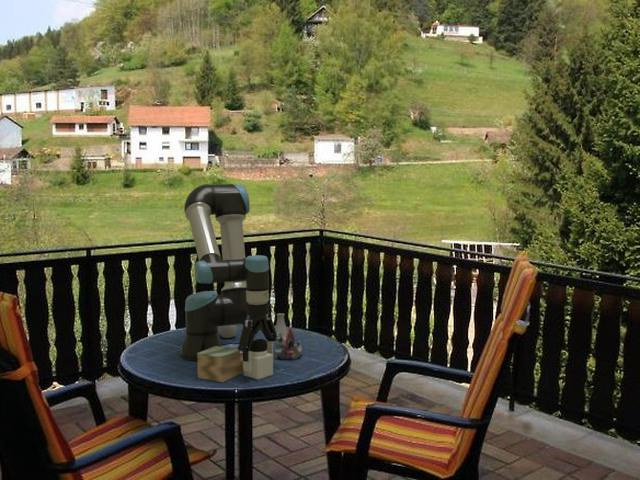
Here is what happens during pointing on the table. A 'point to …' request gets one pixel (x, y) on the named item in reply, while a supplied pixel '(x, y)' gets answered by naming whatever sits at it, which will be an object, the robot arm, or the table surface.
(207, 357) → the stepped stand
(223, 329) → the perfume bottle
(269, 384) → the table surface
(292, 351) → the red grey figurine
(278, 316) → the flask
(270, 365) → the medicine bottle
